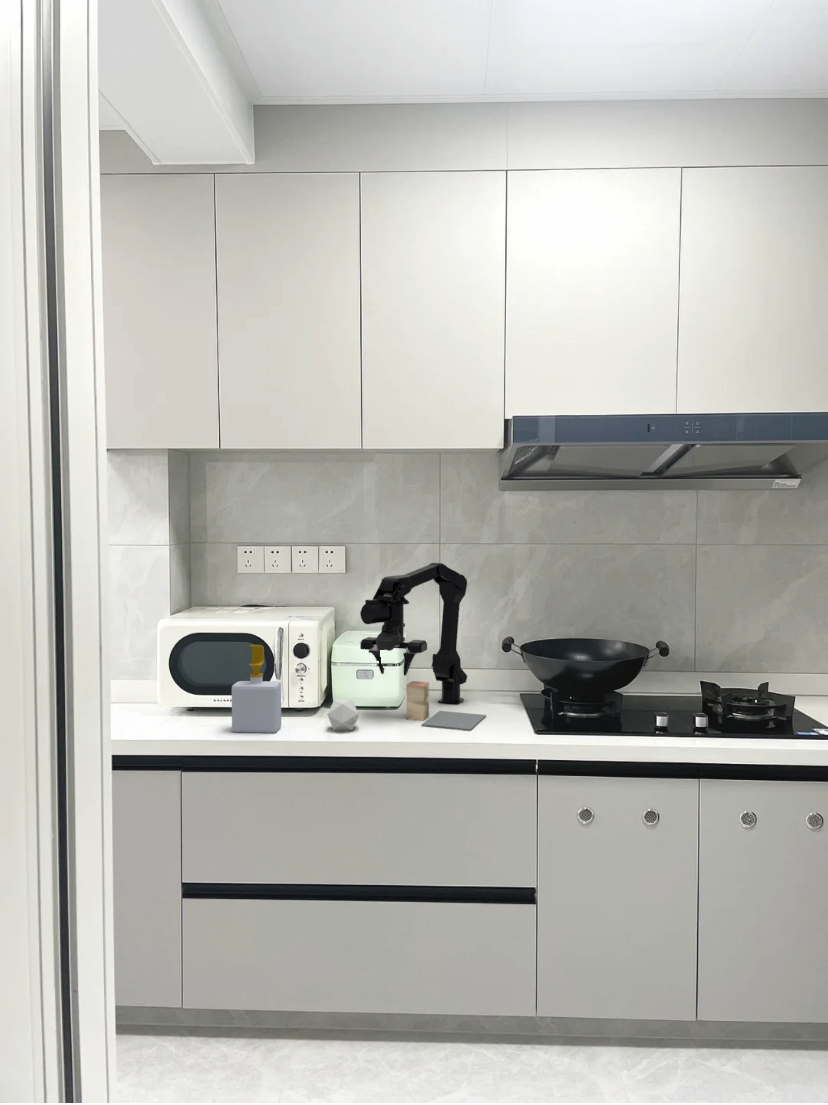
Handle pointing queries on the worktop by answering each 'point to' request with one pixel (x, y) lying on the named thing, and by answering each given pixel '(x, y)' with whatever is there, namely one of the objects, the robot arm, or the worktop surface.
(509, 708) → the worktop surface
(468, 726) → the mat
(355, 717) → the die
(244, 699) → the soap bottle
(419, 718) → the pine block
